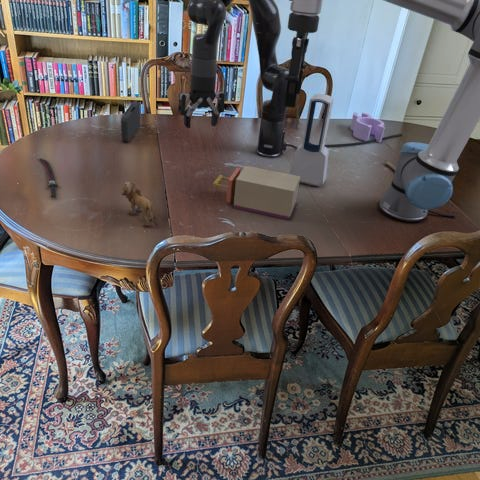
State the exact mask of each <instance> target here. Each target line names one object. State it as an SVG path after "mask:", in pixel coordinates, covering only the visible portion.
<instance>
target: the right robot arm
mask: <svg viewBox="0 0 480 480" xmlns="http://www.w3.org/2000/svg"><path fill="white" fill-rule="evenodd" d="M288 1H289V2H290V8H289V9H290V11H291V12H290V13H289V15H288V21H287V29H288V30H290V31H292V32H296V34H295V36H293V38H292V40H291V41H292V42H291V54H290V55H291V57H290V63H289V64H290V69H289V75H288V77H286V78H285V80H286V81H288V83H287V90H286V98H285V105H284V106H287V108H289V107H294V108H293V109H295V108H296V105H295V104H297V98H296V97H297V94H299V95H300V94H301V93H300V92H301V86H302V82H303V81H302V80H303V73H304V70H306V69H307V65H306V64H305V60H306V53H307V51H308V46H309V43H310V38H308V36H309V34H314V33H317V32H318V30H319V23H320V17H319V14H321V13H322V6H323V0H288ZM383 1H384V2H387V3H389V4H391V5H394V6H396V7H399V8H402V9H405V10H408V11H411V12H414V13H416V14H419V15H422V16H425V17H426V18H430V19H432V20H435V21H437V22H440V23H444V24H446V25H449V26H450V29H451V31H453V32H456V33H458V34H460V35H462V36H464V37H466V38H467V39H469V40H470V41H472V44H471V46H470V48H469V51H468V52H467V57H468V61H469V64H468V66H467V68H466V69H465V70H466V71H465V72H464V74H463V76H462V79H461V80H460V81H459V84H458V86H457V88H456V90H455V91H454V94H453V95H452V98H451V100H450V102H449V104H448V106H447V108H446V110H445V112H444V113H443V116H442V118H441V119H440V121H439V123H438V125H437V128H436V130H435V131H434V133H433V136H432V138H431V140H430V142H429V143H424V142H416V141H411V142H410V141H409V142H406V143H404V144H402V147H401V150H400V151H399V156H398V160H397V163H396V166H395V167H396V170H395V171H394V173H393V177H392V180H391V182H390V183H391V184H390V186H389V187H388V188H387V190H386V192H385V193H383V196H382V197H381V198H380V201H379V204H378V208H379V210H380V211H381V213H382V214H384V215H385V216H386V217H388V218H391V219H393V220H396V221H399V222H402V223H403V222H404V223H410V224H411V223H420V222H423V221H425V220H426V218H427V216H428V213H431V214H435V215H438V216H442V217H448V218H455V217H456V215H455V214H448V213H441V212H438V211H435V209H437V208H441V207H442V206H444V205H445V204H447V203H448V201H449V200H450V199H451V198H452V195H453V191H454V190H453V189H454V187H453V181H454V178H455V177H456V176H457V174H458V172H459V169H460V167H459V164H458V159H459V158H460V156H461V154H462V152H463V150H464V148H465V147H466V145H467V143H468V141H469V139H470V138H471V136H472V134H473V132H474V130H475V129H476V127H477V125H478V123H479V121H480V0H383ZM301 81H302V82H301Z"/></svg>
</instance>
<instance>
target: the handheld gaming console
mask: <svg viewBox="0 0 480 480" xmlns="http://www.w3.org/2000/svg"><path fill="white" fill-rule="evenodd" d="M120 125H121V126H120V127H121V128H120V131H121V141H122V142H123V143H129V142H130V141H131V139H132V138H133V136H134V134H136V131H137V130H138V129H139V127H140V125H141V103H140V101H132V103H131V104H130V105H129V107H128V108H127V109H126V111H124V113H123V115H122V116H121V117H120Z"/></svg>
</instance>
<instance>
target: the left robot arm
mask: <svg viewBox="0 0 480 480" xmlns="http://www.w3.org/2000/svg"><path fill="white" fill-rule="evenodd" d="M233 2H234V0H189V2H188V4H187V9H186V12H187V17H188V19H189V20H190V21H191V22H192V23H194V24H196V25H202V26H207V28H206V31H205V33H203V32H202V33H197V34H195V35H194V36H193V38H192V50H191V51H192V52H191V62H190V77H189V78H190V82H189V88H190V89H189V93H183V92H180V93H179V96H178V106H177V108H178V110H177V112H178V113H179V114H180V115H181V116H184V117H183V124H184V126H185V127H186V128H187V129H191V121H192V120H191V119H192V116H191V115H192V114H193V112H195V111H196V110H197V109H208V108H209V109H210V110H211V116H210V117H211V118H210V125H211V126H212V127H216V126H217V125H218V123H219V114H221V113H224V112H225V99H226V97H225V96H226V95H225V93H224V92H222V91H221V90H218V92H216V85H217V84H216V83H217V73H218V71H217V70H218V69H217V68H218V61H217V55H218V44H219V43H218V42H219V39H220V36H221V32H222V30H223V29H222V28H223V26H224V23H225V20H226V18H227V17H226V15H227V8H228V7H229V6H230V5H231V4H232V3H233ZM248 5H249V9H250V15H251V22H252V27H253V32H254V36H255V41H256V48H257V54H258V61H259V62H258V63H259V73H260V81H261V84H262V86H263V88H264V89H266V90H267V91H270V92H271V93H272V94H271V98H270V99H266V100H263V102H262V105H261V114H260V123H259V131H258V138H257V139H258V140H257V149H256V153H257V154H258V155H259V156H262V157H264V158H265V157H266V158H277V157H279V156H281V155H282V154H283V151H286V150H287V147H290V148H293V149H294V150H297V148H298V147H299V146H295V145H294V144H290V143H287V142H285V136H286V130H284V128H285V122H286V119H285V118H286V115H287V114H286V113H287V109H288V107H287V106H284V105H285V98H286V90H287V83H288V81H286V80H285V78H286V77H288V75H289V69H288V68H286V67H284V66H281V65H279V63H278V59H277V51H276V50H277V45H278V42H279V39H280V36H281V32H282V25H281V24H282V23H281V17H280V11H279V7H278V5H277V3H276V2H275V0H248ZM216 99H217V107H216V105H215V104H214V101H215V100H216ZM188 100H190V101H189V102H188ZM187 102H188V103H187ZM186 105H187V106H186ZM401 136H403V134H402V133H398V134H392V135H388V136H383V137H382V140H387V139H392V138H396V137H401ZM382 140H381V141H382ZM376 141H377V140H376V139H375V138H374V139H369V140H368V141H364V140H363V141H358V142H349V143H337V144H336V143H335V144H325V145H324V147H326V148H331V147H332V148H333V147H345V146H347V147H348V146H356V145H364V144H369V143H374V142H376Z"/></svg>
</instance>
